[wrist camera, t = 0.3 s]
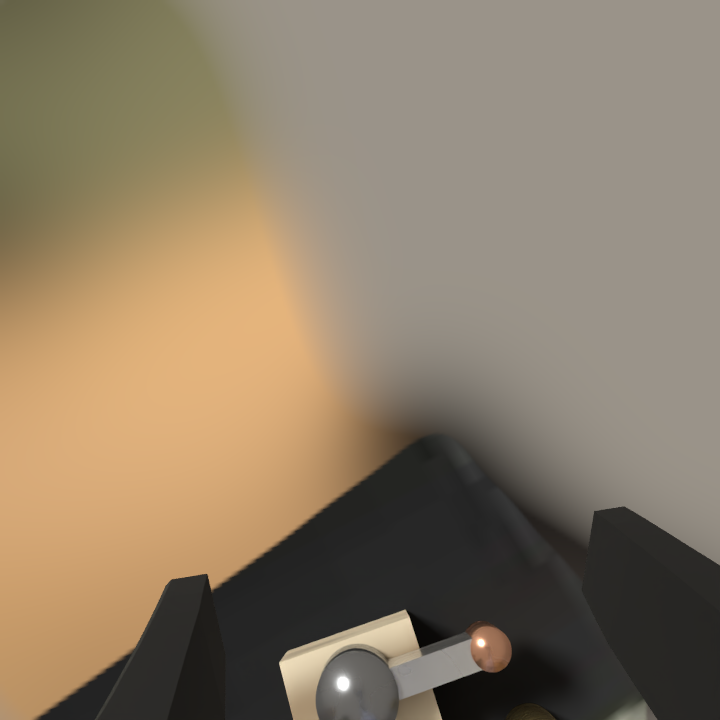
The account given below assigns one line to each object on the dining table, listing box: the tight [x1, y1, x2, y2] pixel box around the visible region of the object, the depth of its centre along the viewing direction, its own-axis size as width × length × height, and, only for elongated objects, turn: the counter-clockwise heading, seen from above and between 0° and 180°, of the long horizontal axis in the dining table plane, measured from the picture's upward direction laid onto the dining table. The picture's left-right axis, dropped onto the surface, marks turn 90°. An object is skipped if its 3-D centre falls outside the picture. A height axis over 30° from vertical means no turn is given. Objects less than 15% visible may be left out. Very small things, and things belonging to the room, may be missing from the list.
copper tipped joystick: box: [316, 621, 512, 720], centre depth 31 cm, size 4×11×3 cm, turn 108°
